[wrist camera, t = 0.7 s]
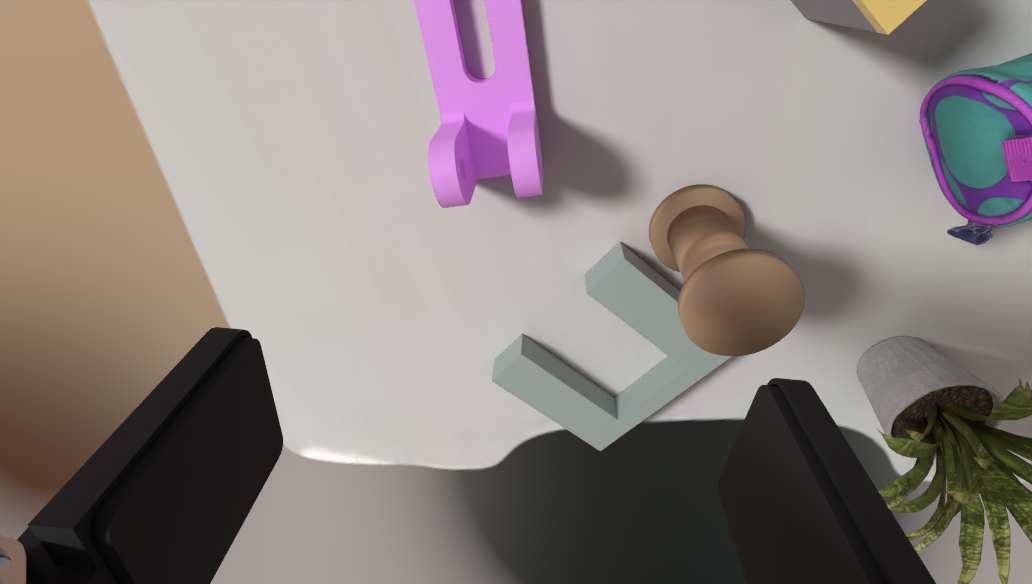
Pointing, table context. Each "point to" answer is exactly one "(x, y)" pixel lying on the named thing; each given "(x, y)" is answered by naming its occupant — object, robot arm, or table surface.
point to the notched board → (581, 402)
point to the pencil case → (983, 145)
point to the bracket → (481, 105)
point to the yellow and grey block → (859, 12)
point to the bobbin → (724, 274)
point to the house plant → (951, 445)
